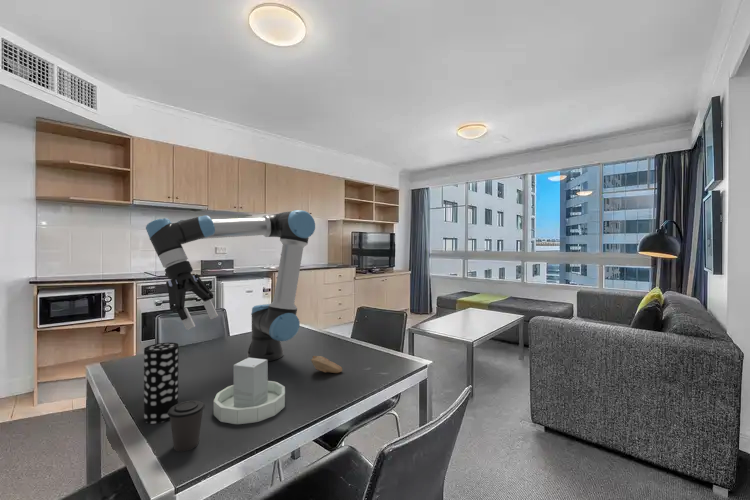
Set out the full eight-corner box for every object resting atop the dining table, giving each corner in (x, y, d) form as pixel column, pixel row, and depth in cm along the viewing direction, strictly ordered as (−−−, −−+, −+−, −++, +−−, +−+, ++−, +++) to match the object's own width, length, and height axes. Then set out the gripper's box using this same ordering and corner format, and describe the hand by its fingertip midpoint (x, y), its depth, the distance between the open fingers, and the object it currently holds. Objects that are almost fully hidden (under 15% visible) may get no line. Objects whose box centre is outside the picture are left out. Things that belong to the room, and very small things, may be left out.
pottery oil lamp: (342, 377, 127) (342, 358, 126) (310, 378, 125) (310, 359, 125) (342, 368, 135) (342, 351, 135) (312, 369, 134) (312, 351, 134)
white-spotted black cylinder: (154, 409, 100) (154, 342, 100) (183, 408, 101) (183, 342, 101) (137, 424, 92) (137, 351, 92) (169, 423, 93) (169, 351, 93)
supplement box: (268, 399, 106) (268, 359, 105) (253, 410, 99) (253, 367, 98) (248, 396, 108) (248, 356, 108) (232, 406, 101) (232, 364, 101)
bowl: (243, 389, 115) (243, 377, 115) (296, 396, 110) (296, 384, 110) (198, 417, 96) (198, 404, 96) (260, 428, 91) (260, 413, 91)
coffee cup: (159, 449, 81) (159, 408, 81) (190, 432, 88) (190, 394, 88) (182, 458, 78) (182, 415, 78) (212, 440, 85) (212, 400, 85)
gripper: (189, 265, 124) (213, 318, 124) (137, 273, 99) (168, 338, 99) (207, 257, 123) (231, 309, 124) (159, 262, 98) (190, 328, 99)
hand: (203, 322), depth 111 cm, fingers open, 13 cm apart
